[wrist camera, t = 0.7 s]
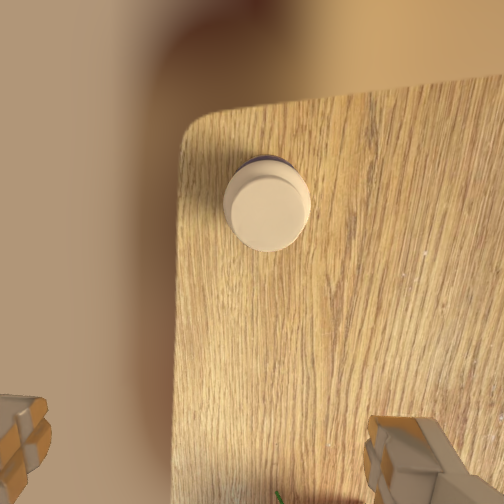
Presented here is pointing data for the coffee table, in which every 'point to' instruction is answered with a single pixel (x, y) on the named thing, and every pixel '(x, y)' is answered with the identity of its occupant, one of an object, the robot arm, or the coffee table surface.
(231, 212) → the pill bottle
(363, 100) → the coffee table surface
